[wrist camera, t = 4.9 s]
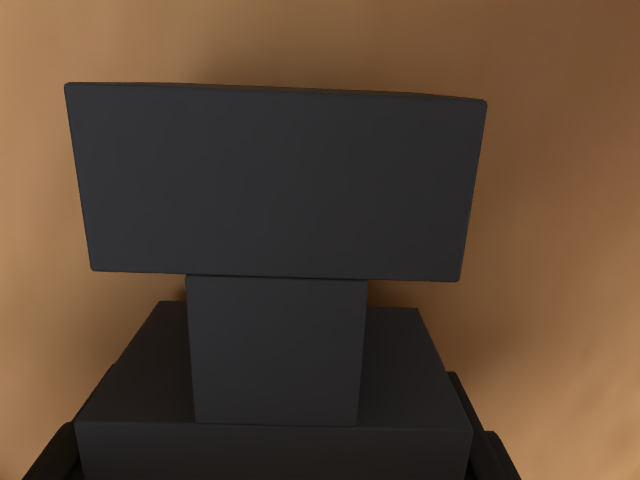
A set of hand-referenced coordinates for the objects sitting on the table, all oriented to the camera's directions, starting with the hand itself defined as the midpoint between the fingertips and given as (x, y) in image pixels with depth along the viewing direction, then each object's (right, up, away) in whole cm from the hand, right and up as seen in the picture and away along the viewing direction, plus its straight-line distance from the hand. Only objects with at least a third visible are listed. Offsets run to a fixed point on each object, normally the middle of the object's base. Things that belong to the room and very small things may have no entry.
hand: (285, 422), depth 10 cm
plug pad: (0, +2, +1) cm, 2 cm away
